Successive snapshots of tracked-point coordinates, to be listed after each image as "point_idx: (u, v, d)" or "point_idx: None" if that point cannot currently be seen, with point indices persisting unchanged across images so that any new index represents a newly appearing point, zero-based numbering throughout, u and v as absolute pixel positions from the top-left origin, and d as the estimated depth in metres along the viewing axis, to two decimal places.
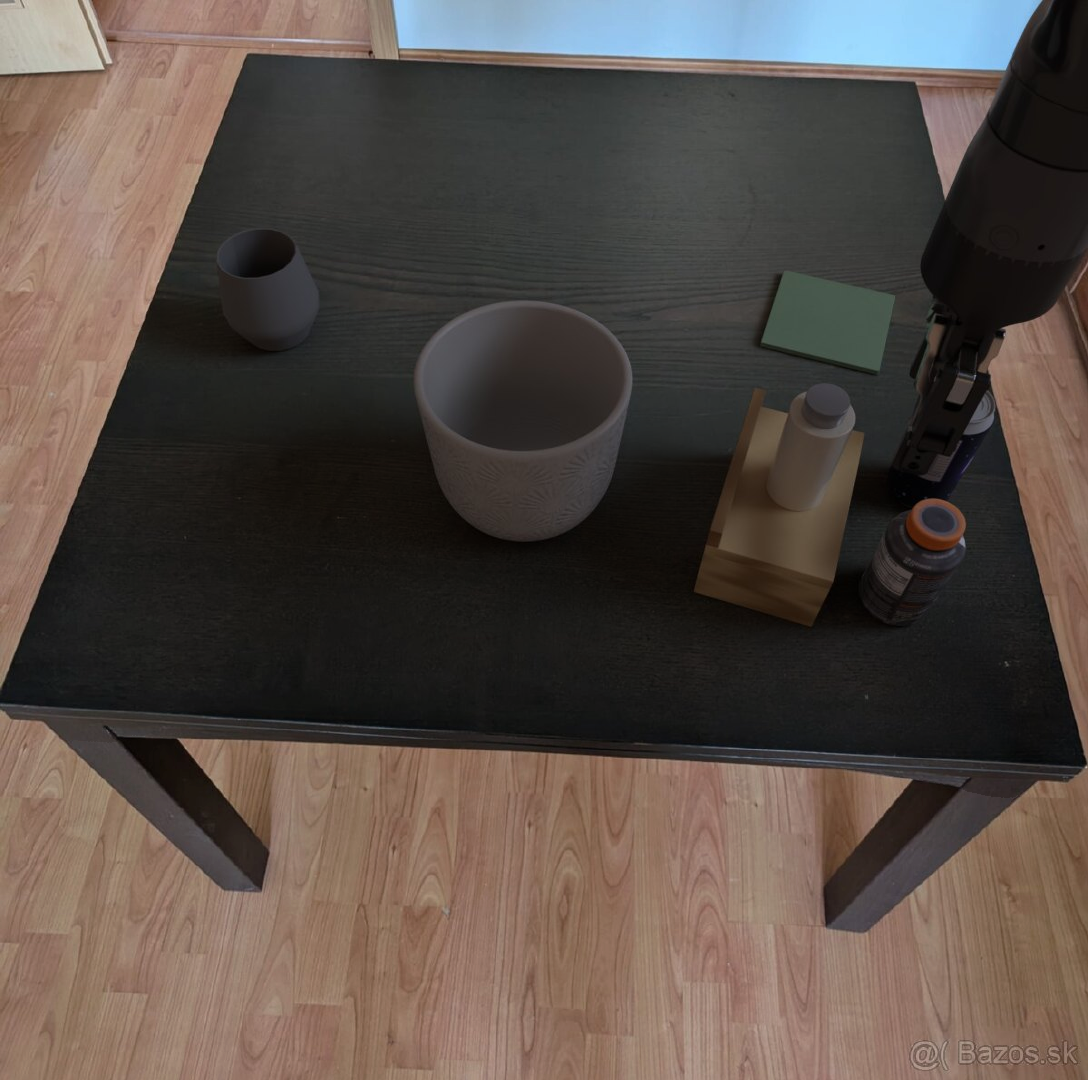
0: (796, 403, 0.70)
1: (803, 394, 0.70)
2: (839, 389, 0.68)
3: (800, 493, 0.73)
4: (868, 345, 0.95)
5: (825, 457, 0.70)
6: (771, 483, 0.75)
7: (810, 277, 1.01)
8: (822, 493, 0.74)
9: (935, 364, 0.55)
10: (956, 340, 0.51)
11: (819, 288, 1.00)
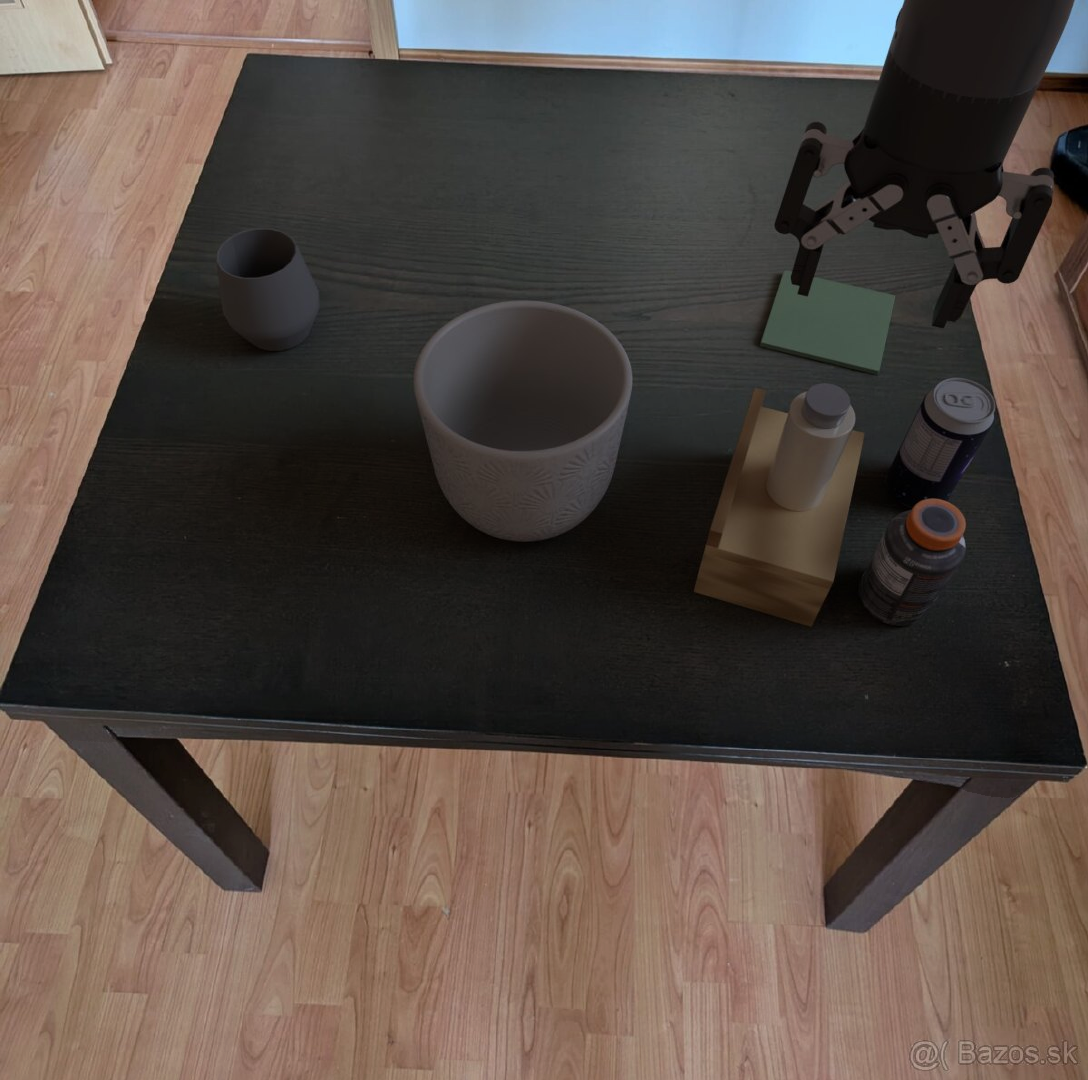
0: (796, 403, 0.70)
1: (803, 394, 0.70)
2: (839, 389, 0.68)
3: (800, 493, 0.73)
4: (868, 345, 0.95)
5: (825, 457, 0.70)
6: (771, 483, 0.75)
7: None
8: (822, 493, 0.74)
9: None
10: (858, 135, 0.53)
11: (819, 288, 1.00)
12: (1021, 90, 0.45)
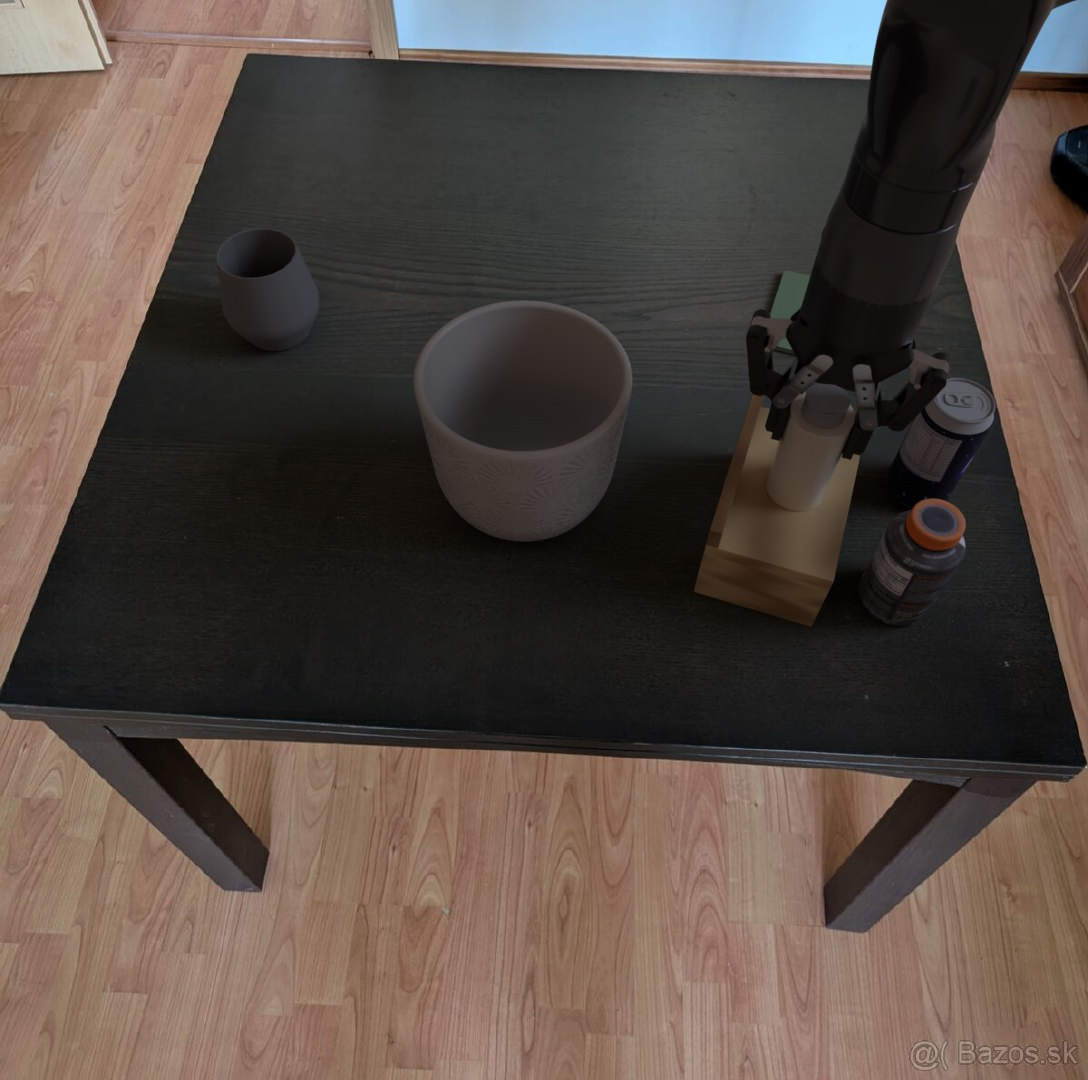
0: (796, 403, 0.70)
1: (803, 394, 0.70)
2: (839, 389, 0.68)
3: (800, 493, 0.73)
4: None
5: (825, 457, 0.70)
6: (771, 483, 0.75)
7: None
8: (822, 493, 0.74)
9: None
10: (797, 311, 0.64)
11: None
12: (918, 298, 0.56)
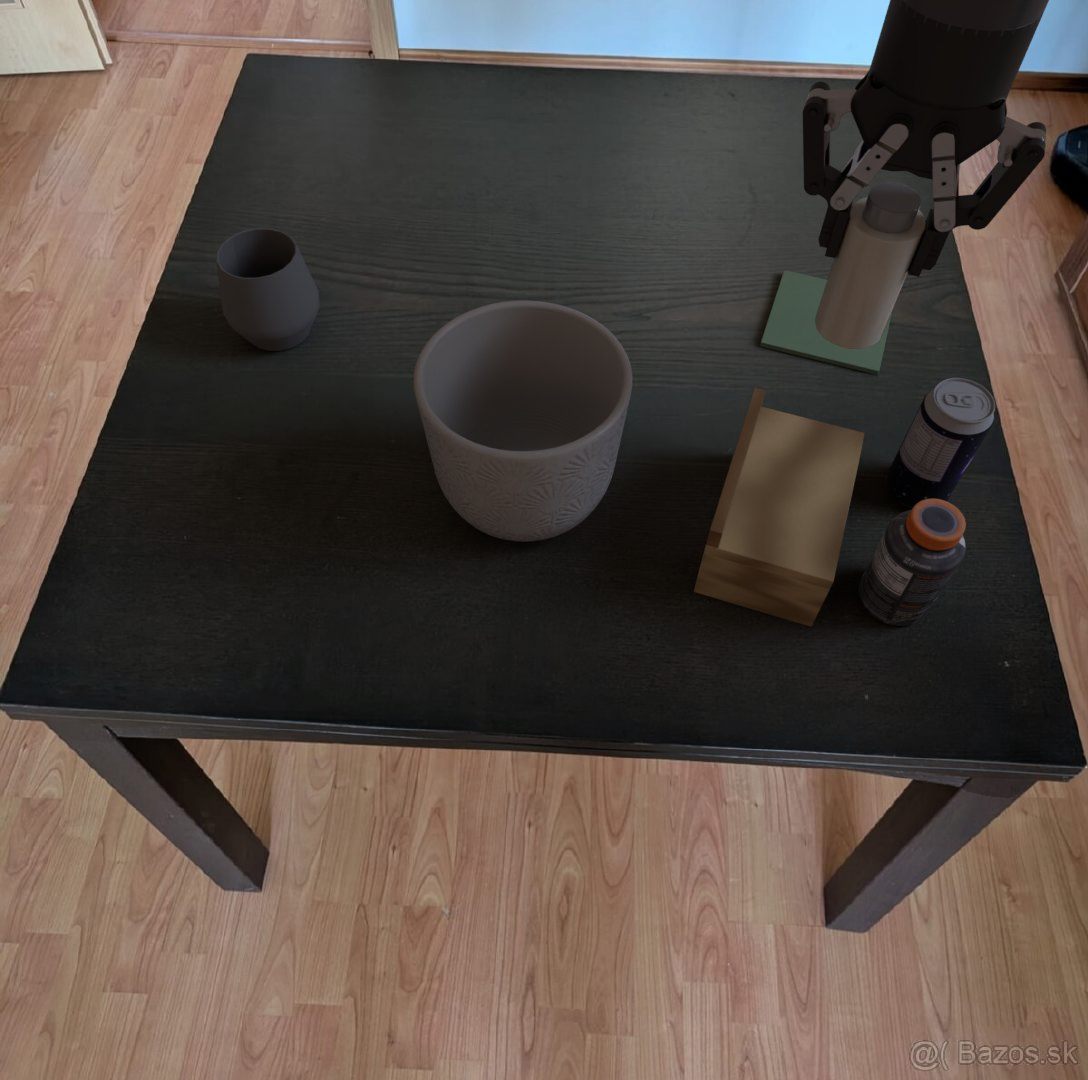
0: (856, 208, 0.60)
1: (863, 199, 0.60)
2: (907, 187, 0.58)
3: (858, 324, 0.63)
4: None
5: (890, 271, 0.60)
6: (822, 317, 0.65)
7: (810, 277, 1.01)
8: (882, 325, 0.64)
9: None
10: (864, 77, 0.54)
11: (819, 288, 1.00)
12: (1023, 23, 0.46)
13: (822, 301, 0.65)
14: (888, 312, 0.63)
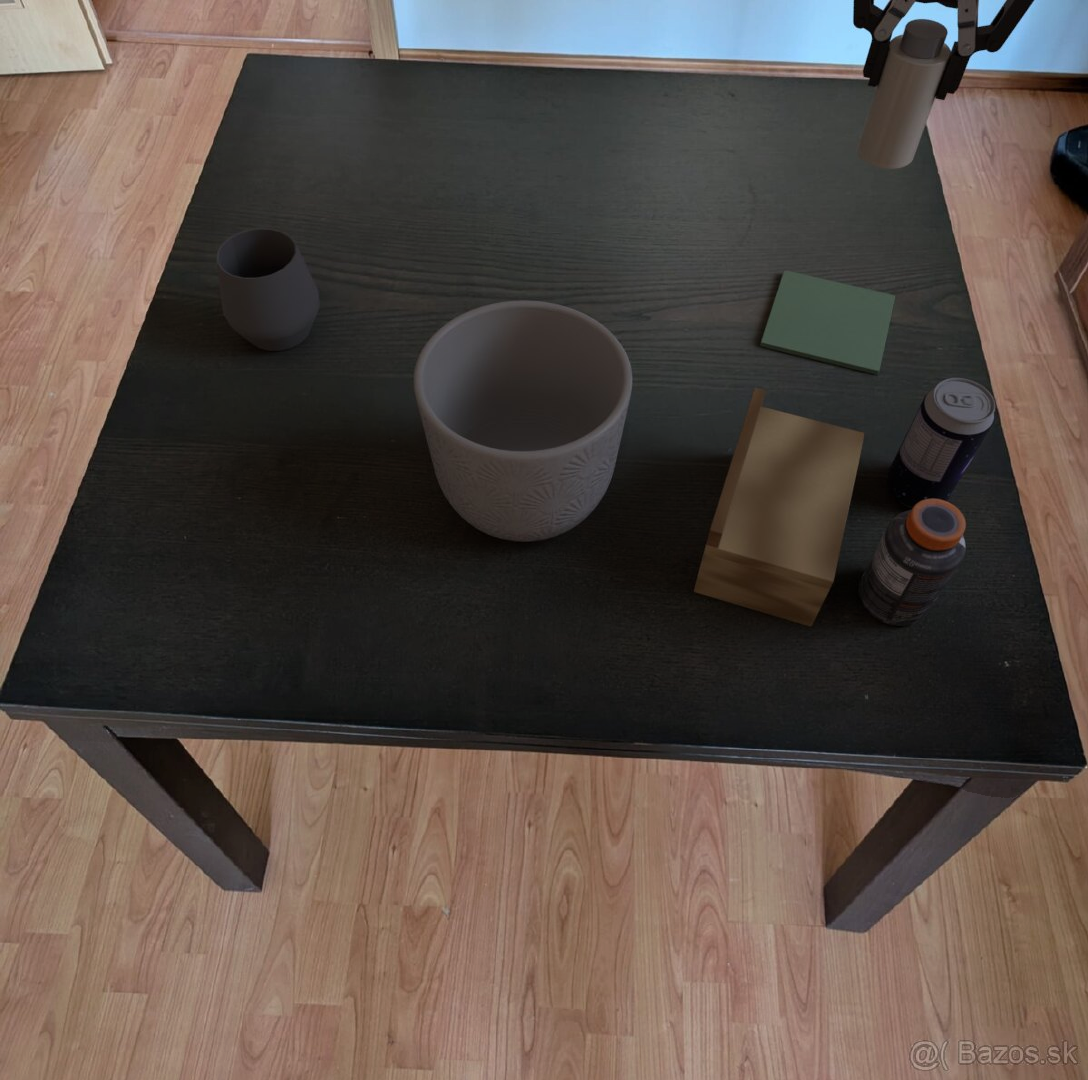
0: (894, 42, 0.74)
1: (900, 36, 0.74)
2: (936, 22, 0.73)
3: (894, 144, 0.77)
4: (868, 345, 0.95)
5: (921, 93, 0.74)
6: (864, 142, 0.79)
7: (810, 277, 1.01)
8: (913, 147, 0.78)
9: None
10: None
11: (819, 288, 1.00)
12: None
13: (864, 129, 0.79)
14: (918, 134, 0.77)
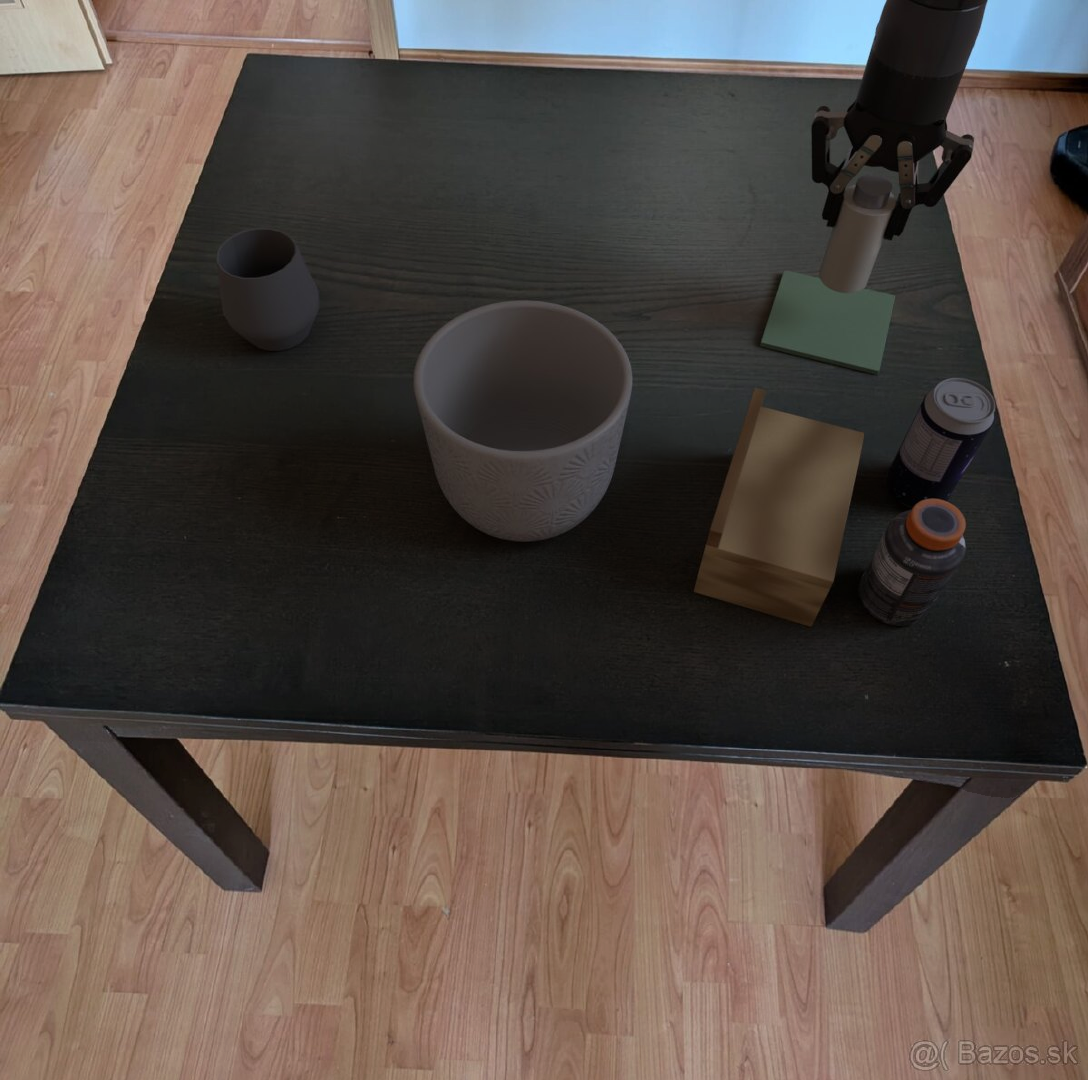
0: (848, 192, 0.86)
1: (853, 186, 0.87)
2: (883, 178, 0.85)
3: (849, 274, 0.90)
4: (868, 345, 0.95)
5: (871, 236, 0.86)
6: (824, 270, 0.92)
7: (810, 277, 1.01)
8: (866, 276, 0.91)
9: None
10: None
11: (819, 288, 1.00)
12: (952, 72, 0.73)
13: (824, 259, 0.91)
14: (870, 266, 0.90)
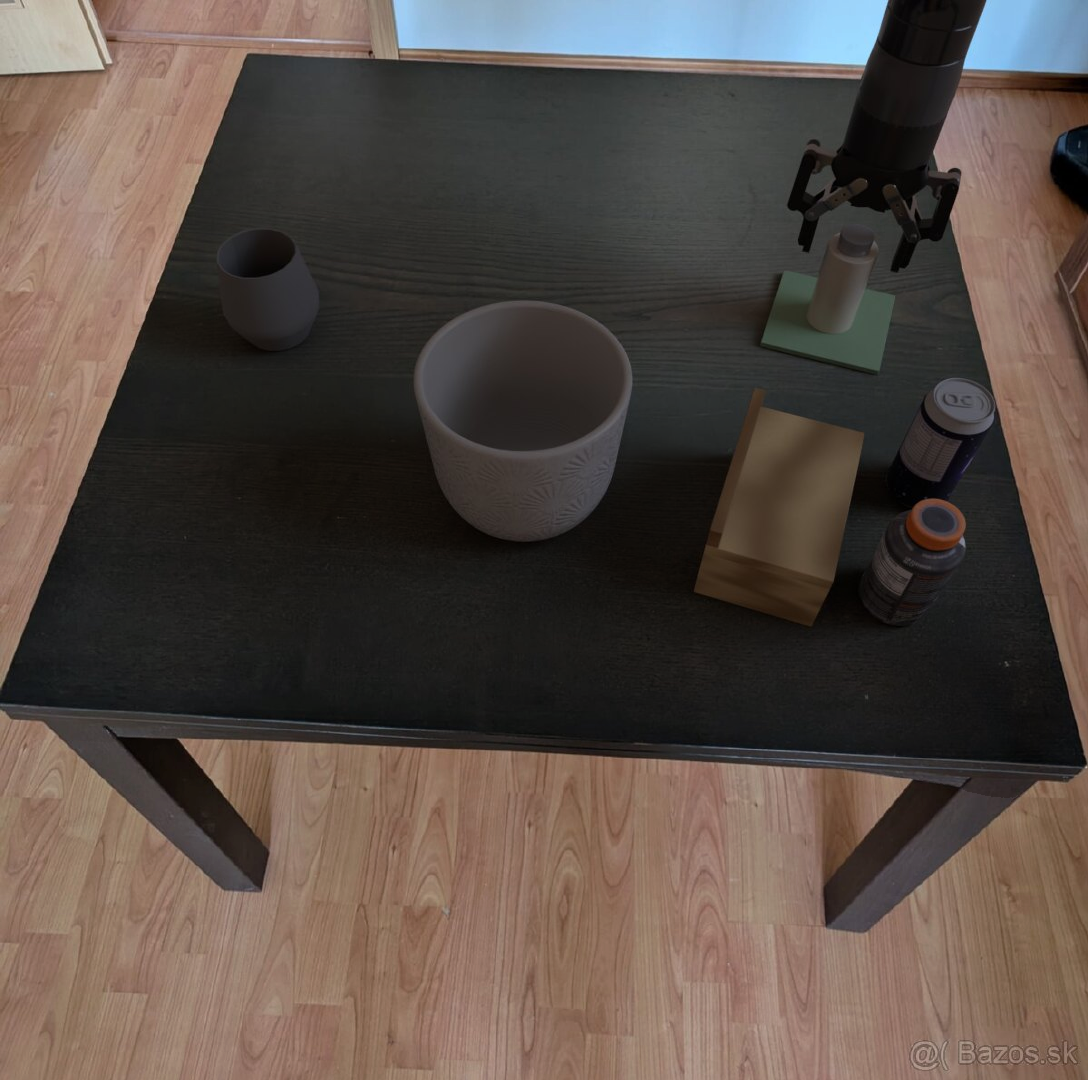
0: (833, 240, 0.91)
1: (838, 234, 0.91)
2: (866, 227, 0.89)
3: (835, 316, 0.94)
4: (868, 345, 0.95)
5: (855, 282, 0.91)
6: (811, 312, 0.96)
7: (810, 277, 1.01)
8: (851, 318, 0.95)
9: None
10: (840, 147, 0.84)
11: None
12: (933, 122, 0.76)
13: (811, 301, 0.96)
14: (855, 309, 0.94)
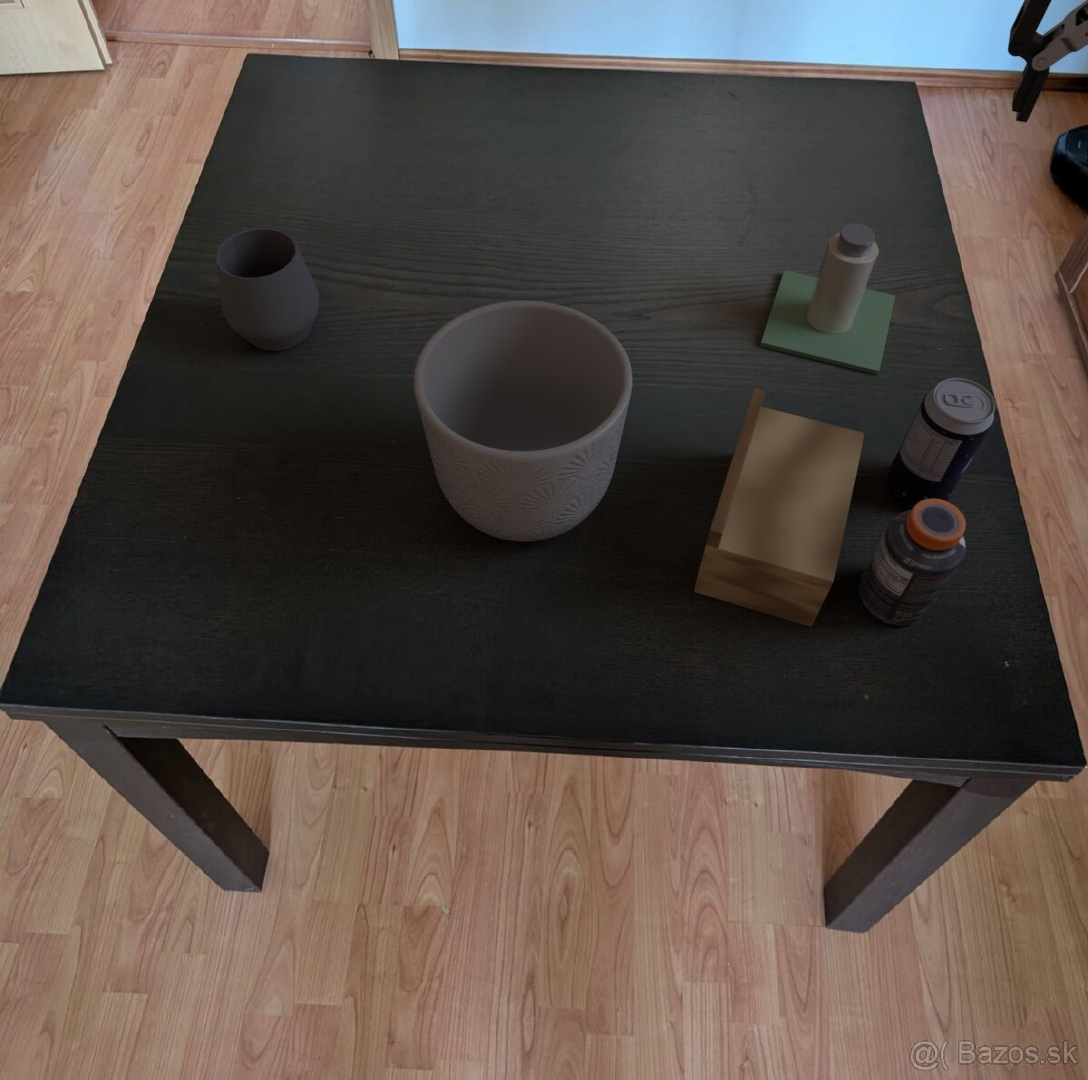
0: (833, 240, 0.91)
1: (838, 234, 0.91)
2: (866, 227, 0.89)
3: (835, 316, 0.94)
4: (868, 345, 0.95)
5: (855, 282, 0.91)
6: (811, 312, 0.96)
7: (810, 277, 1.01)
8: (851, 318, 0.95)
9: None
10: None
11: None
12: None
13: (811, 301, 0.96)
14: (855, 309, 0.94)
